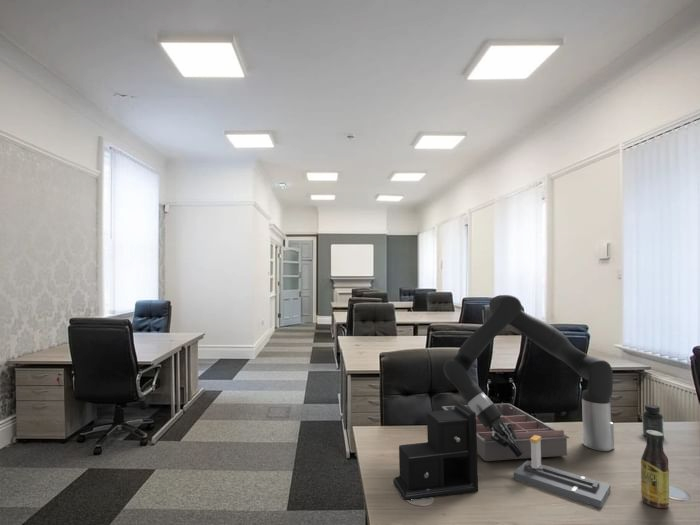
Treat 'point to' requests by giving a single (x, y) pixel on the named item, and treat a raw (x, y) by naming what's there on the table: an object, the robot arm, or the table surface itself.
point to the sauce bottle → (655, 471)
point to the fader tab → (536, 452)
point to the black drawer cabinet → (441, 457)
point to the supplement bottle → (652, 419)
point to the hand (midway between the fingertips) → (520, 455)
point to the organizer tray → (518, 436)
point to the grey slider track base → (564, 483)
